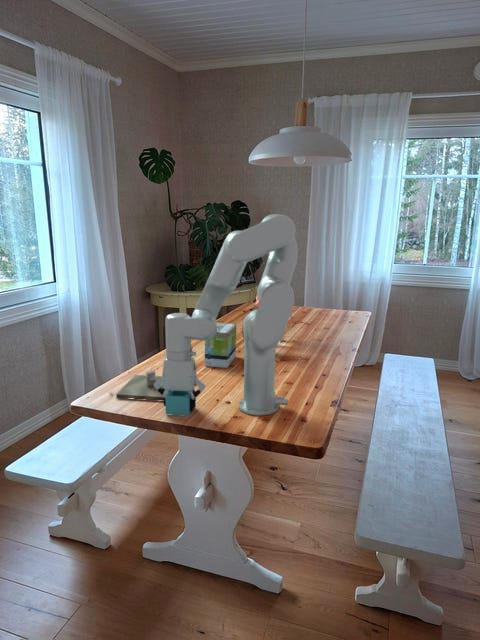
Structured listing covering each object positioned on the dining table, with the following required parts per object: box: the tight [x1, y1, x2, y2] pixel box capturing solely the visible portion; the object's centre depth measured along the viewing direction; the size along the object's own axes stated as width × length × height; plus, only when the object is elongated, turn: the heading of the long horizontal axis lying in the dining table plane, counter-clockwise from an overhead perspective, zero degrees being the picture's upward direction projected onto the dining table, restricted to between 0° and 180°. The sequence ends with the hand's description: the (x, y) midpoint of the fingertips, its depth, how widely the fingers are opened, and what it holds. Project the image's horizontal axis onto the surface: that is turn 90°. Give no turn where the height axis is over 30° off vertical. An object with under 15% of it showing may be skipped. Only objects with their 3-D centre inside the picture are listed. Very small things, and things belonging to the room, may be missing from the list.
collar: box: [165, 390, 192, 417], centre depth 139 cm, size 7×7×6 cm
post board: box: [115, 370, 164, 401], centre depth 155 cm, size 18×18×6 cm
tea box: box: [204, 322, 237, 369], centre depth 183 cm, size 15×10×15 cm
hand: (179, 408), depth 139 cm, fingers closed on collar, 7 cm apart
